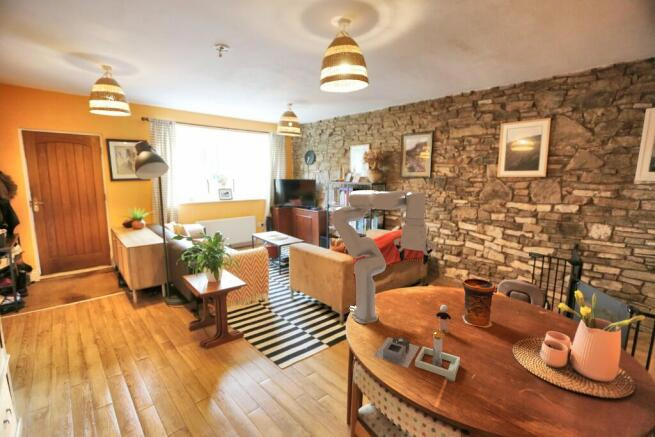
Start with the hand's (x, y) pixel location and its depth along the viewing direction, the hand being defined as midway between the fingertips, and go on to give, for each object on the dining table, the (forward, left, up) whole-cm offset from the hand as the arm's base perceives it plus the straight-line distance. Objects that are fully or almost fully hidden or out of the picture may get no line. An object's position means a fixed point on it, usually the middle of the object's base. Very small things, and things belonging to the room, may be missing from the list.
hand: (413, 261), depth 126 cm
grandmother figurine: (+10, +16, -36) cm, 41 cm away
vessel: (+22, +34, -36) cm, 54 cm away
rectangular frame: (+14, -12, -36) cm, 41 cm away
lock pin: (+14, -12, -35) cm, 40 cm away
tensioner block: (-2, -12, -36) cm, 38 cm away
